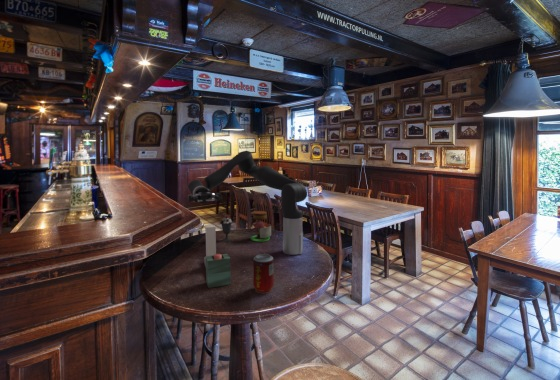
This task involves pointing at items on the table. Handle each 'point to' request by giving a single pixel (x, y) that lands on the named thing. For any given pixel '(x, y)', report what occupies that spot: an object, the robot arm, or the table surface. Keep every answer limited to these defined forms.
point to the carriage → (210, 241)
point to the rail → (218, 271)
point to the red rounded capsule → (217, 256)
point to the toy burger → (261, 227)
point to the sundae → (226, 227)
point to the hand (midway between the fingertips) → (207, 199)
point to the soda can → (263, 273)
